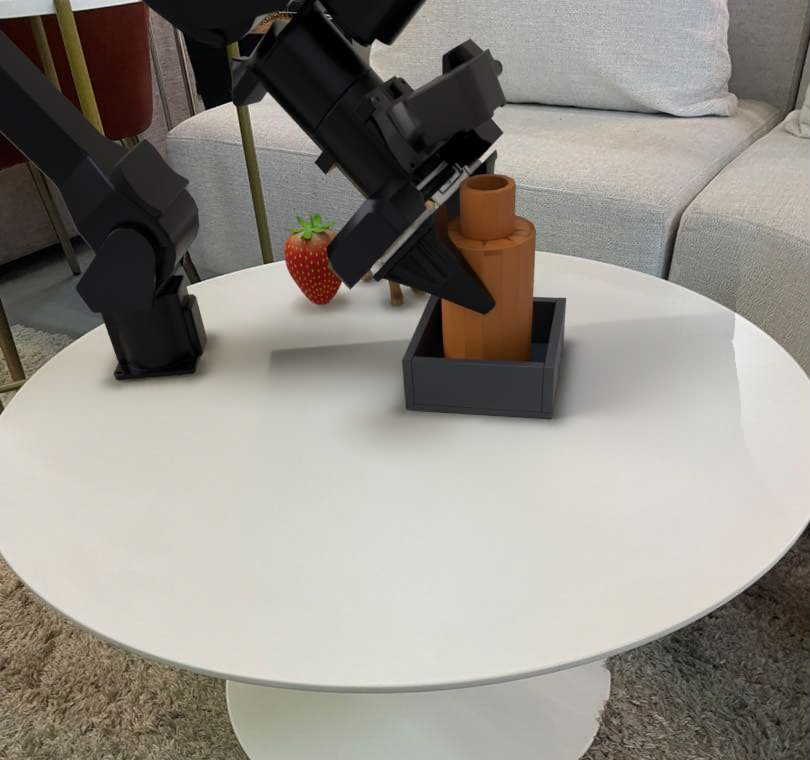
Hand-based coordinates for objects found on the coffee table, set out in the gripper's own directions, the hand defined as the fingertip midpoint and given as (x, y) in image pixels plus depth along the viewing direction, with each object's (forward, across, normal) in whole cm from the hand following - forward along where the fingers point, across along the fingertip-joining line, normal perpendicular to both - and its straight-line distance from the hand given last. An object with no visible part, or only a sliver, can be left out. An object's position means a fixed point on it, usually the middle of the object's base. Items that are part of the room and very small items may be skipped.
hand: (506, 288), depth 56 cm
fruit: (-9, +8, +19) cm, 22 cm away
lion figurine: (-5, +13, +15) cm, 20 cm away
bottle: (+4, 0, +6) cm, 7 cm away
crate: (+4, 0, +6) cm, 7 cm away
